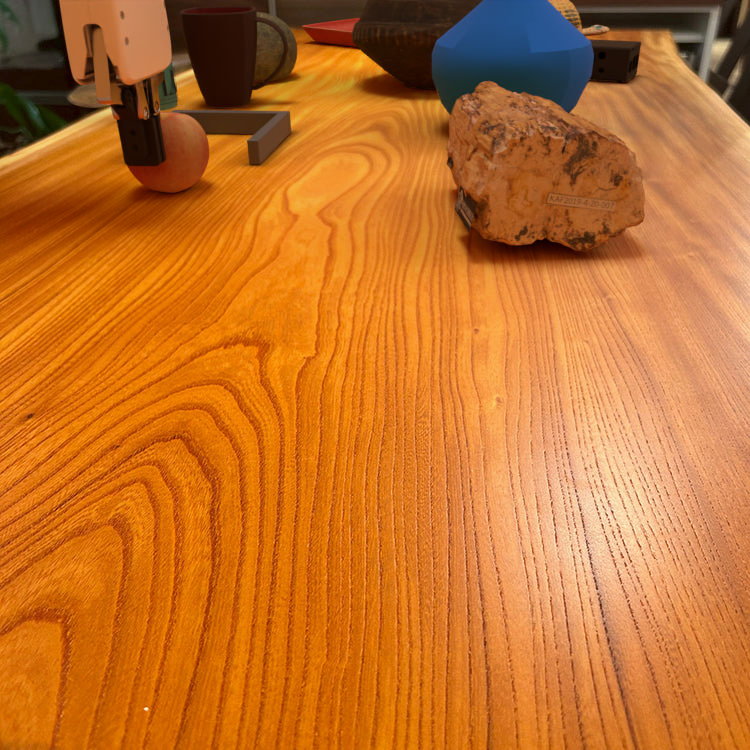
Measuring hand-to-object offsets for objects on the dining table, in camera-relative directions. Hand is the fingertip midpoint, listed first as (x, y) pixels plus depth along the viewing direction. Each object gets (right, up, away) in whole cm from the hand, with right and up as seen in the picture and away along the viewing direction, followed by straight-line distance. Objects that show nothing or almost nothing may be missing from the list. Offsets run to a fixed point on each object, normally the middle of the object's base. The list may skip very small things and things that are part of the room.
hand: (146, 163), depth 68 cm
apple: (+1, -1, +7) cm, 7 cm away
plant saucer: (+17, +51, +93) cm, 108 cm away
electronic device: (+55, +28, +53) cm, 81 cm away
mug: (+2, +19, +41) cm, 45 cm away
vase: (+36, +11, +25) cm, 45 cm away
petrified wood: (+33, -5, -2) cm, 33 cm away
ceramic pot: (+29, +26, +51) cm, 64 cm away
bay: (+2, +7, +20) cm, 22 cm away
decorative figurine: (+52, +41, +77) cm, 102 cm away
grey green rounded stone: (0, +30, +59) cm, 66 cm away
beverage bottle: (-9, +15, +34) cm, 38 cm away
